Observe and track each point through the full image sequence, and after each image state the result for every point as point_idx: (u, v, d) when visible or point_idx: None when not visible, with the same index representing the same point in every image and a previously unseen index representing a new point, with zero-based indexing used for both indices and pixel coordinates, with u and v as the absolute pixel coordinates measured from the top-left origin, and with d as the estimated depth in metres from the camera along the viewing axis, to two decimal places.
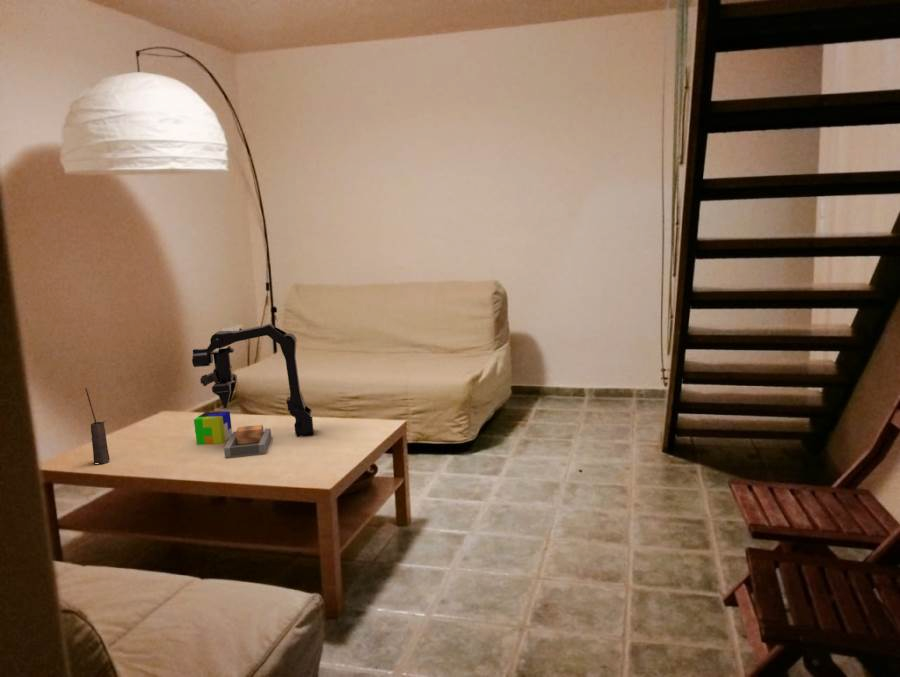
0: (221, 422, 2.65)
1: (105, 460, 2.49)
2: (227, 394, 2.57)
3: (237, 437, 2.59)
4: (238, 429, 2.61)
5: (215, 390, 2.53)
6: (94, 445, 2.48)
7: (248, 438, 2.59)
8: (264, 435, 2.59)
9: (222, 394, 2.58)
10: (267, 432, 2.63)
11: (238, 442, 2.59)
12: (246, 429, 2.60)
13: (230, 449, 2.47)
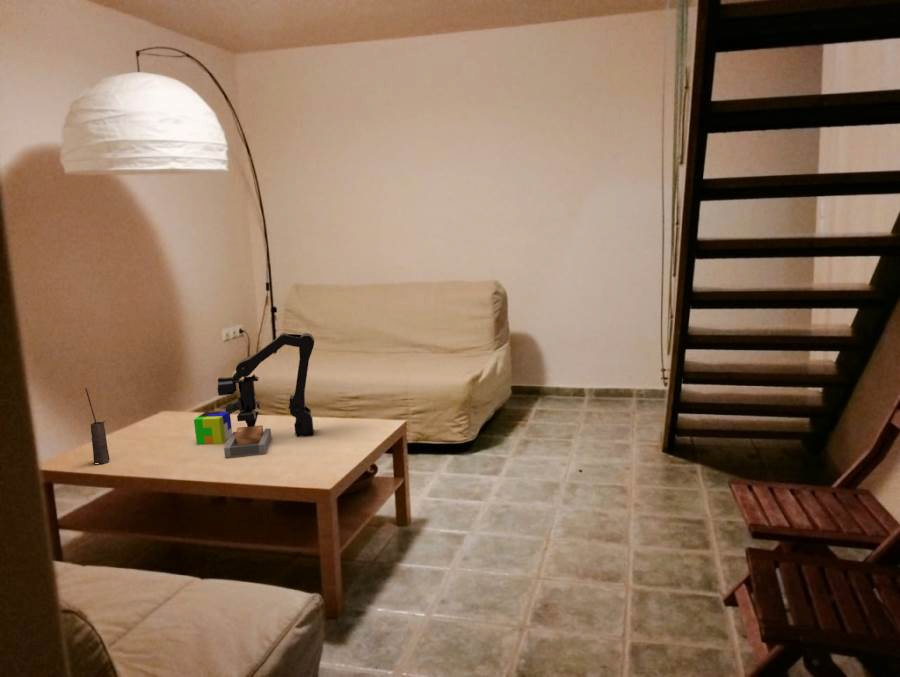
0: (221, 422, 2.65)
1: (105, 460, 2.49)
2: (253, 419, 2.63)
3: (237, 438, 2.58)
4: (238, 430, 2.60)
5: (240, 419, 2.55)
6: (94, 445, 2.48)
7: (248, 439, 2.59)
8: (264, 435, 2.59)
9: (249, 419, 2.64)
10: (267, 432, 2.63)
11: (238, 443, 2.58)
12: (246, 430, 2.59)
13: (230, 449, 2.47)
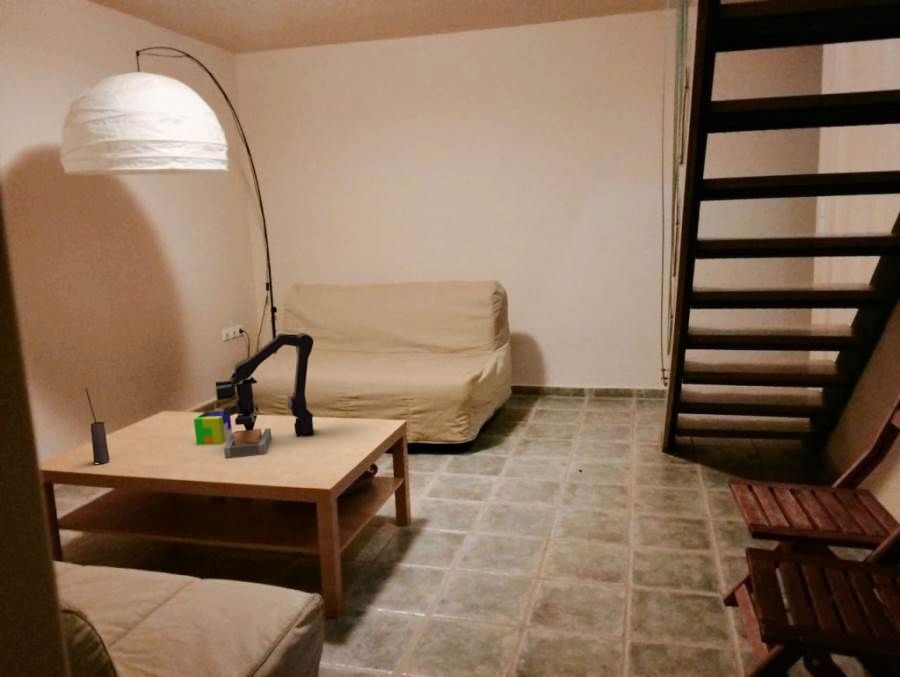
0: (221, 422, 2.65)
1: (105, 460, 2.49)
2: (252, 423, 2.59)
3: (235, 441, 2.53)
4: (236, 433, 2.56)
5: (238, 422, 2.51)
6: (94, 445, 2.48)
7: (246, 443, 2.54)
8: (264, 435, 2.59)
9: None
10: (267, 432, 2.63)
11: None
12: (244, 433, 2.55)
13: (230, 449, 2.47)
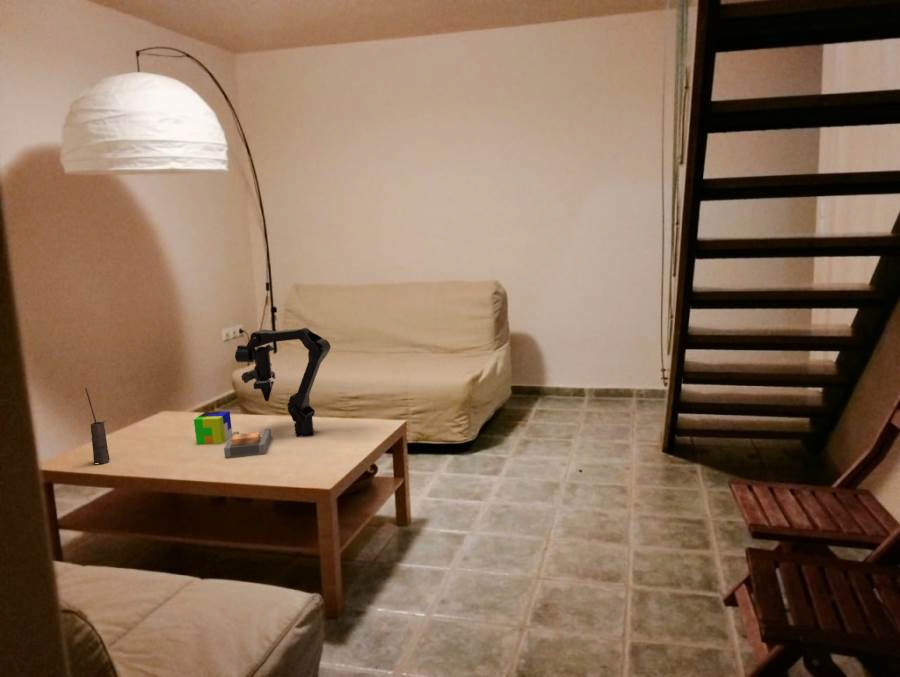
0: (221, 422, 2.65)
1: (105, 460, 2.49)
2: (269, 388, 2.69)
3: (233, 445, 2.49)
4: (234, 437, 2.51)
5: (257, 387, 2.61)
6: (94, 445, 2.48)
7: None
8: (264, 435, 2.59)
9: (264, 388, 2.70)
10: (267, 432, 2.63)
11: None
12: (242, 437, 2.51)
13: (230, 449, 2.47)
